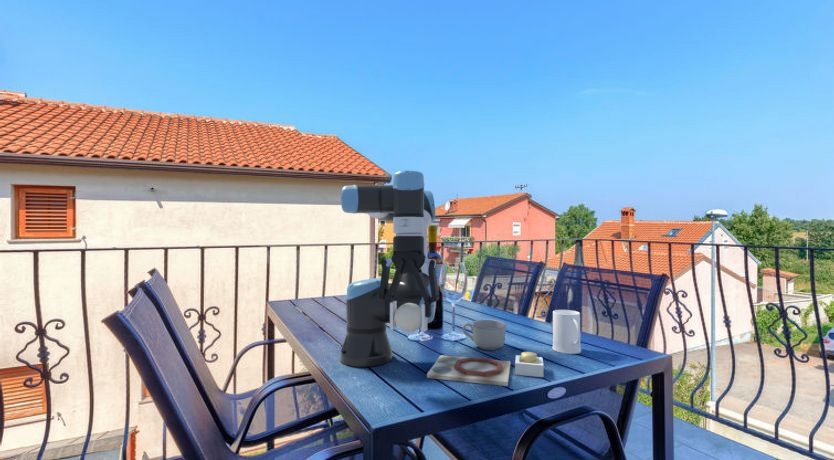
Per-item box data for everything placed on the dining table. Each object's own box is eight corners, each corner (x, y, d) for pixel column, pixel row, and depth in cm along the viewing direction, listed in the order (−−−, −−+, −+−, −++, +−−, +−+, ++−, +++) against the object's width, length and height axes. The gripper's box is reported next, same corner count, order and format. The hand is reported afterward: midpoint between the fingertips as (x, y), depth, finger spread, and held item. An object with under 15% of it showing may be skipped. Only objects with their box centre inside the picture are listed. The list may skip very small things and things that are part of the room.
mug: (591, 357, 114) (591, 316, 114) (563, 357, 114) (562, 317, 114) (573, 346, 126) (573, 309, 126) (548, 346, 126) (547, 309, 126)
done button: (521, 361, 101) (521, 355, 101) (521, 357, 105) (521, 351, 105) (537, 363, 100) (537, 356, 100) (536, 358, 104) (536, 352, 104)
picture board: (426, 377, 97) (426, 370, 98) (440, 358, 113) (440, 352, 113) (507, 386, 92) (507, 378, 92) (510, 364, 107) (510, 358, 107)
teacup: (509, 345, 127) (508, 320, 127) (501, 354, 117) (501, 327, 117) (468, 340, 133) (468, 317, 133) (458, 348, 123) (458, 323, 123)
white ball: (400, 326, 98) (400, 300, 98) (427, 329, 95) (427, 302, 95) (388, 332, 91) (389, 304, 91) (417, 335, 89) (417, 306, 89)
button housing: (515, 374, 100) (515, 363, 100) (515, 365, 106) (515, 355, 106) (543, 377, 98) (543, 365, 98) (542, 368, 104) (542, 357, 105)
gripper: (364, 235, 92) (364, 330, 92) (446, 235, 87) (446, 336, 87) (375, 235, 100) (375, 323, 99) (452, 235, 94) (452, 328, 94)
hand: (408, 329), depth 93 cm, fingers closed on white ball, 7 cm apart
